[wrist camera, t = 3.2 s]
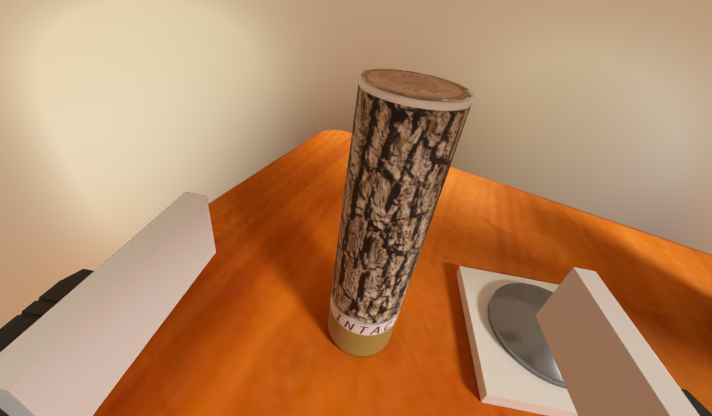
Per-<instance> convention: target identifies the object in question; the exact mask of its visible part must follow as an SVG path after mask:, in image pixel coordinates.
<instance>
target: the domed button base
mask: <svg viewBox="0 0 712 416" xmlns="http://www.w3.org/2000/svg"><path fill="white" fill-rule="evenodd" d="M456 275H457V281H458V286H459V291H460V296H461V301H462V307H463V312H464V317H465V322H466V328H467V333H468V338H469V343H470V348H471V354H472V359H473V364H474V369H475V374H476V380H477V385H478V390H479V395H480V400H481V402H483V403H488V404H493V405H498V406H503V407H508V408H513V409H517V410H522V411H527V412H532V413H537V414H542V415H547V416H578V414H577V412H576V409H575V407H574V405H573V402H572V400H571V397H570V395H569V393H568V390H567V388H566V386H565V383H564V381H563V379H562V376H561V374H560V372H559V369H558V367H557V365H556V362H555V360H554V358H553V355H552V353H551V351H550V348H549V346H548V344H547V341H546V339H545V336H544V334H543V332H542V329H541V327H540V325H539V322H538V320H537V318H536V314H537V313H538V312H539V310H540V309H541V308H542V307H543V305H544V304H545V303H546V301H547V300H548V299H549V298H550V296H551V295H552V294H553V293H554V291H555V290H556V289H557V287H558V286H559V285H558V284H553V283H547V282H542V281H537V280H532V279H526V278H521V277H516V276H510V275H505V274H500V273H495V272H489V271H484V270H479V269H473V268H468V267H463V266H460V267H459V269H458V271H457V273H456Z"/></svg>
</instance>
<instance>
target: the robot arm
mask: <svg viewBox="0 0 712 416" xmlns="http://www.w3.org/2000/svg"><path fill="white" fill-rule="evenodd" d="M215 253H216V249H215V243H214V237H213V231H212V225H211V219H210V213H209V207H208V201H207V196H205V195H200V194H195V193H189V192H185V193H184V194H183V195H182V196H181V197H179V198H178V199H177V200H176V201H175V202H174V203H173V204H171V205H170V206H169V207H168V208H167V209H166V210H164V211H163V212H162V213H161V214H160V215H159V216H157V217H156V218H155V219H154V220H153V221H152V222H151V223H149V224H148V225H147V226H146V227H145V228H144V229H143V230H141V231H140V232H139V233H138V234H137V235H135V236H134V237H133V238H132V239H131V240H130V241H129V242H127V243H126V244H125V245H124V246H123V247H122V248H120V249H119V250H118V251H117V252H116V253H115V254H114V255H112V256H111V257H110V258H109V259H108V260H107V261H105V262H104V263H103V264H102V265H101V266H100V267H98V268H97V269H96V270H95V271H91V270H86V269H82V270H80V271H78V272H77V273H75V274H73V275H71V276H69V277H67V278H65V279H63V280H61V281H59V282H58V283H57V284H55V285H54V286H53V287H52V288H51V289H49V290H48V291H47V292H45V293H44V294H43V295H42V296H40V297H39V300H38V301H34V302H33V303H32V304H31V305H29V306H28V307H27V308H26V309H25V310H23V311H22V314H21V315H17V316H16V317H14V318H13V319H12V320H11V321H9V322H8V323H7V324H6V325H5V326H3V327H2V328H1V329H0V416H93V414H94V413H95V412H96V410H97V409H98V408H99V406H100V405H101V404H102V402H103V401H104V400H105V398H106V397H107V396H108V394H109V393H110V392H111V391H112V389H113V388H114V387H115V385H116V384H117V383H118V381H119V380H120V379H121V377H122V376H123V375H124V373H125V372H126V371H127V369H128V368H129V367H130V365H131V364H132V363H133V361H134V360H135V359H136V357H137V356H138V355H139V353H140V352H141V351H142V349H143V348H144V347H145V345H146V344H147V343H148V341H149V340H150V339H151V337H152V336H153V335H154V334H155V332H156V331H157V330H158V328H159V327H160V326H161V324H162V323H163V322H164V320H165V319H166V318H167V316H168V315H169V314H170V312H171V311H172V310H173V308H174V307H175V306H176V304H177V303H178V302H179V300H180V299H181V298H182V296H183V295H184V294H185V292H186V291H187V290H188V288H189V287H190V286H191V284H192V283H193V282H194V280H195V279H196V278H197V277H198V275H199V274H200V273H201V271H202V270H203V269H204V267H205V266H206V265H207V263H208V262H209V261H210V259H211V258H212V257H213V255H214V254H215ZM536 318H537V320H538V322H539V325H540V327H541V329H542V332H543V334H544V336H545V339H546V341H547V344H548V346H549V348H550V351H551V353H552V355H553V358H554V360H555V362H556V365H557V367H558V369H559V372H560V374H561V376H562V379H563V381H564V383H565V386H566V388H567V390H568V393H569V395H570V397H571V400H572V402H573V405H574V407H575V409H576V412H577V414H578V416H712V414H711V413H710V412H709V411H708V410H707V409H706V408H705V407H704V406H703V405H702V404H701V403H700V402H699V401H698V400H697V399H695V398H694V397H693V396H692V395H691V394H690V393H689V392H688V391H687V390H685V389H680V387H679V386H678V385H677V383H676V382H675V381H674V379H673V378H672V376H671V375H670V374H669V372H668V371H667V369H666V368H665V367H664V365H663V364H662V363H661V361H660V360H659V358H658V357H657V356H656V354H655V353H654V351H653V350H652V349H651V347H650V346H649V345H648V343H647V342H646V340H645V339H644V338H643V336H642V335H641V333H640V332H639V331H638V329H637V328H636V327H635V325H634V324H633V322H632V321H631V320H630V318H629V317H628V315H627V314H626V313H625V311H624V310H623V309H622V307H621V306H620V304H619V303H618V302H617V300H616V299H615V297H614V296H613V295H612V293H611V292H610V290H609V289H608V288H607V286H606V285H605V284H604V282H603V281H602V279H601V278H600V277H599V275H598V274H597V272H596V271H592V270H587V269H581V268H576V267H573V268H572V270H571V271H570V272H569V273H568V275H567V276H566V277H565V278H564V280H563V281H562V282H561V284H560V285H559V286H558V287H557V289H556V290H555V291H554V293H553V294H552V295H551V296H550V298H549V299H548V300H547V301H546V303H545V304H544V305H543V307H542V308H541V309H540V310H539V312H538V313H537V314H536Z"/></svg>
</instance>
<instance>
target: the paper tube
mask: <svg viewBox="0 0 712 416" xmlns="http://www.w3.org/2000/svg"><path fill="white" fill-rule="evenodd" d="M360 76H361V79H360V81H359V85H358V92H357V100H356V107H355V115H354V122H353V130H352V138H351V145H350V153H349V161H348V168H347V176H346V184H345V191H344V199H343V207H342V214H341V222H340V230H339V237H338V245H337V253H336V260H335V268H334V276H333V283H332V291H331V299H330V308H329V316H328V331H329V334H330V337H331V339H332V340H333V342H334V343H335V344H336V345H337V346H338V347H339V348H340V349H341V350H343V351H345V352H346V353H349V354H351V355H355V356H369V355H373V354H375V353H377V352H379V351H381V350H382V349H383V348H384V347H385V346H386V344H387V343H388V341H389V339H390V337H391V334H392V331H393V328H394V325H395V322H396V320H397V317H398V314H399V312H400V309H401V306H402V303H403V300H404V297H405V294H406V291H407V289H408V286H409V283H410V280H411V277H412V274H413V271H414V268H415V265H416V263H417V260H418V257H419V254H420V251H421V248H422V245H423V242H424V240H425V237H426V234H427V231H428V228H429V225H430V222H431V219H432V217H433V214H434V211H435V208H436V205H437V202H438V199H439V196H440V194H441V191H442V188H443V185H444V182H445V179H446V176H447V173H448V171H449V168H450V165H451V162H452V159H453V156H454V153H455V150H456V147H457V144H458V142H459V139H460V136H461V133H462V130H463V127H464V124H465V122H466V118H467V115H468V113H469V110H470V107H471V98H473V96H474V94H473V92H472V91H470V90H469V89H468V88H466V87H464V86H462V85H460V84H457V83H455V82H452V81H449V80H446V79H442V78H439V77H435V76H431V75H426V74H422V73H415V72H410V71H403V70H393V69H373V70H366V71H363V72H362V73H361V74H360Z"/></svg>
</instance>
